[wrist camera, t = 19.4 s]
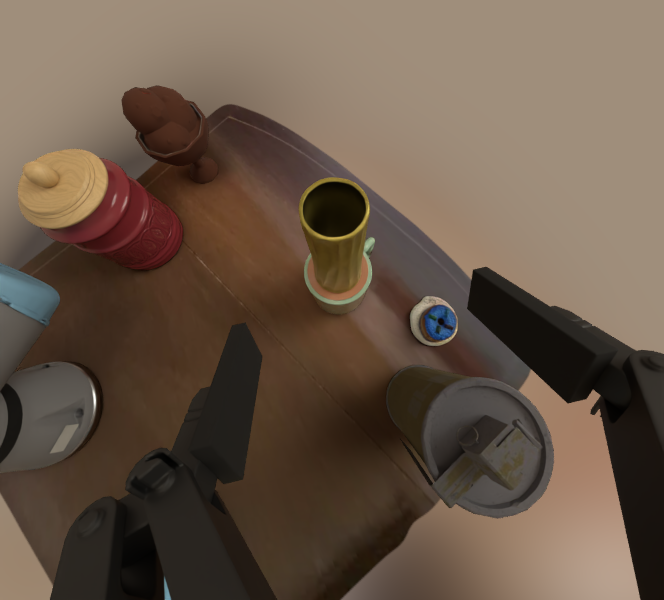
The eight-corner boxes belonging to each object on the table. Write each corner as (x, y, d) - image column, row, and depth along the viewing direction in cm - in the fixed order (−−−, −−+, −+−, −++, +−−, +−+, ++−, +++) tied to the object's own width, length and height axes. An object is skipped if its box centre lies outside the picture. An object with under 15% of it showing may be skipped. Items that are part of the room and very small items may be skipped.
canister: (419, 350, 38) (501, 352, 18) (470, 403, 36) (620, 467, 17) (369, 399, 37) (399, 454, 17) (419, 456, 35) (515, 590, 16)
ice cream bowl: (219, 201, 45) (160, 130, 30) (167, 187, 46) (85, 111, 32) (240, 154, 47) (194, 66, 32) (189, 142, 48) (122, 50, 33)
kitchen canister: (199, 228, 44) (107, 150, 27) (151, 285, 42) (19, 241, 25) (149, 194, 46) (33, 101, 29) (101, 247, 44) (-54, 181, 27)
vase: (312, 251, 32) (289, 176, 18) (358, 246, 32) (369, 166, 18) (317, 296, 31) (295, 252, 17) (364, 290, 31) (382, 241, 17)
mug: (301, 290, 41) (289, 272, 32) (348, 240, 42) (350, 210, 33) (340, 325, 39) (340, 318, 30) (388, 272, 41) (401, 250, 32)
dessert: (452, 356, 37) (443, 343, 33) (411, 343, 41) (399, 330, 37) (467, 309, 39) (461, 292, 35) (426, 302, 43) (417, 286, 39)
